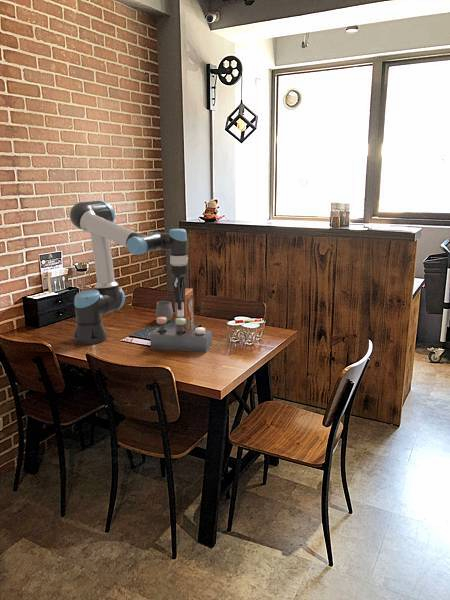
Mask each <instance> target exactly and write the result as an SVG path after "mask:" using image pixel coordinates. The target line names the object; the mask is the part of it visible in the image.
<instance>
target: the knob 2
mask: <svg viewBox="0 0 450 600" xmlns="http://www.w3.org/2000/svg"><path fill="white" fill-rule="evenodd" d="M194 330H195V334H198V335H203V334H205V330H206V327H201V326H200V327H199V326H198V327H195V328H194Z"/></svg>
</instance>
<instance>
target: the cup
mask: <svg viewBox="0 0 450 600" xmlns="http://www.w3.org/2000/svg"><path fill="white" fill-rule="evenodd" d="M173 315H174V311H173V306H172V302H171V301H169V300H160V301H157V302H156V308H155V317H156V318H158V317H166V318H167V322H169V321H171V320H172V317H173Z"/></svg>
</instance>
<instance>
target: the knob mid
mask: <svg viewBox="0 0 450 600" xmlns="http://www.w3.org/2000/svg"><path fill="white" fill-rule="evenodd" d="M176 324H177V325H178V334H184V327H183V325H184V324H186V319H185V318H177V319H176V318H175V325H176Z"/></svg>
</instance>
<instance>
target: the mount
mask: <svg viewBox="0 0 450 600" xmlns="http://www.w3.org/2000/svg"><path fill="white" fill-rule="evenodd" d="M149 335H150V336H149V339H150V349H151V350H162V351H163V350H164V351H180V352H192V353H194V352H195V353H208V351H209V350H210V348H211V347H212V345H213V344H212V342H213V341H212V330H209V329H207V330H206V329H205V334H203V335H198V334H195V329H194V330H192V329H184V334H178V329H176V328H173V327H172V328H170V327H165V333H160V332H159V327H156V328H155V329H154V330H153V331H152V332H151V333H150V334H149Z"/></svg>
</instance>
